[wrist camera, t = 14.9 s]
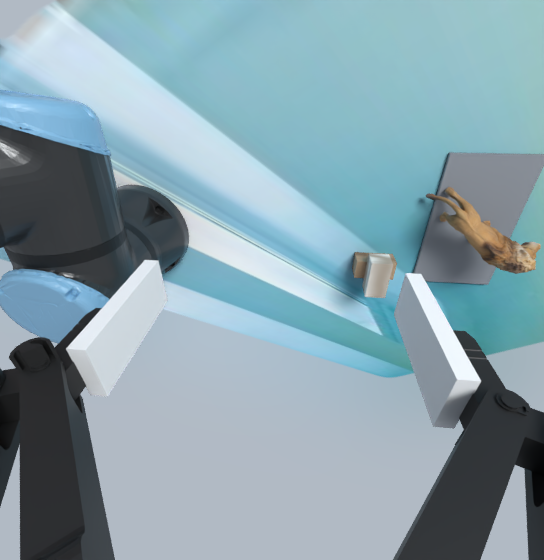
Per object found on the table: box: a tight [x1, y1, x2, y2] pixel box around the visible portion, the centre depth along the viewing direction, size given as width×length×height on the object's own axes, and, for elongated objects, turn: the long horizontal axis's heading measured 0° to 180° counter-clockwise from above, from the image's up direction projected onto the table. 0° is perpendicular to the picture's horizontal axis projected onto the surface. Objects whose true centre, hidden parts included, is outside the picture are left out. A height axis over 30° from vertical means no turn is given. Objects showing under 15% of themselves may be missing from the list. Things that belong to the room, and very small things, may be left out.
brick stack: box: [352, 252, 397, 298], centre depth 48 cm, size 6×6×6 cm
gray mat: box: [413, 153, 544, 284], centre depth 46 cm, size 12×20×1 cm, turn 0°
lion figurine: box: [426, 187, 541, 274], centre depth 41 cm, size 15×5×9 cm, turn 63°
